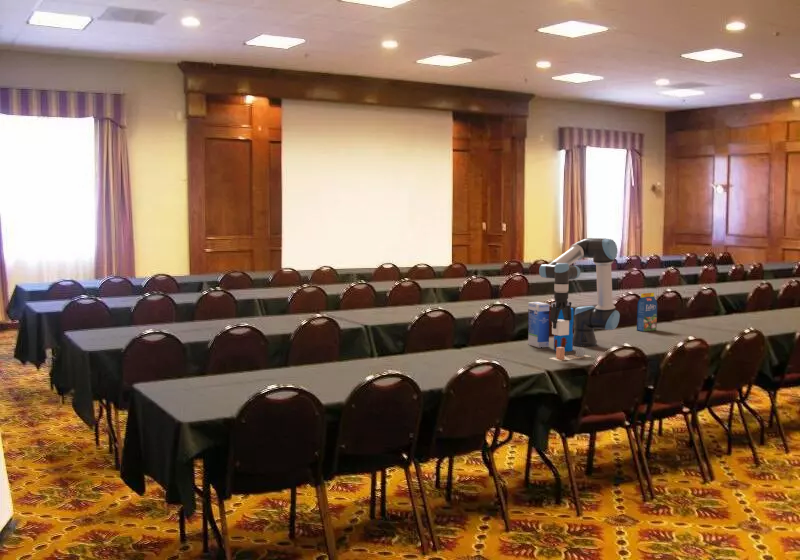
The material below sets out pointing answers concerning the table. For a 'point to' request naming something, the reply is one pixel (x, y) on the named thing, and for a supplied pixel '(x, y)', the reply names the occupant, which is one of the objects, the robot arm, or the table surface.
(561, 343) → the thermos
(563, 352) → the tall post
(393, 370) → the table surface
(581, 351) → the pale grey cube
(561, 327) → the white tilted cube
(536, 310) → the string lights box
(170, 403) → the table surface
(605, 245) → the robot arm
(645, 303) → the blue food package
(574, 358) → the board
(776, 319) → the table surface
